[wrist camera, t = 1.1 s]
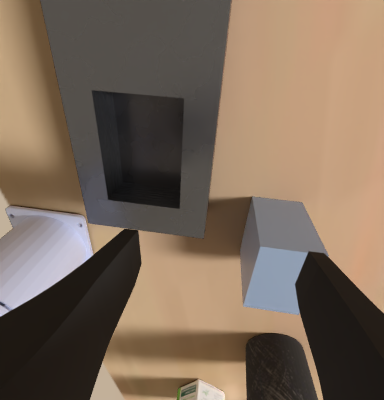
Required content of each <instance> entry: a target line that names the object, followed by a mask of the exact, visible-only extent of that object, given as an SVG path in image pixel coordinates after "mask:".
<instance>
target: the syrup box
mask: <svg viewBox="0 0 384 400" xmlns="http://www.w3.org/2000/svg"><path fill="white" fill-rule="evenodd" d="M177 400H225V393H224V392H223V391H221V390H220V389H218V388H216V387H214V386H212V385H210V384H208V383H206V382H204V381H202V380H200V379H197V380H196V381H195V382H192V383H190V384H188V385H185V386H183V387H180V388H179V389H178V394H177Z"/></svg>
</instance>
